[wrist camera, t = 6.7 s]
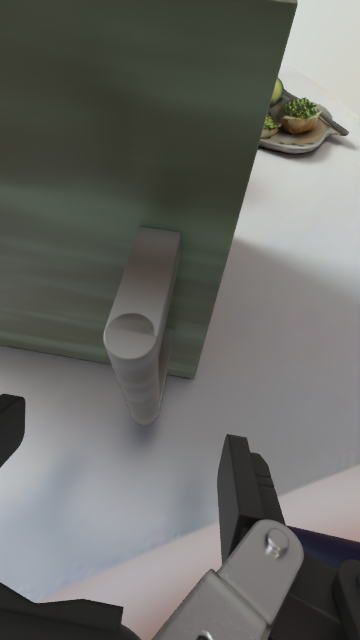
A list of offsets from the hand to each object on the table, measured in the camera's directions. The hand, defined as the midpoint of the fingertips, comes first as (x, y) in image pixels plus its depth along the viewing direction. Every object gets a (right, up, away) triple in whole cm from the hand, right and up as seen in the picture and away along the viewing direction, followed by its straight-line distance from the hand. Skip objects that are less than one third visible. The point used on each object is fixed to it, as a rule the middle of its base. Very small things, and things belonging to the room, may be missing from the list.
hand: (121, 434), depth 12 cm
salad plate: (+18, +37, +39) cm, 56 cm away
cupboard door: (-10, -1, +14) cm, 17 cm away
